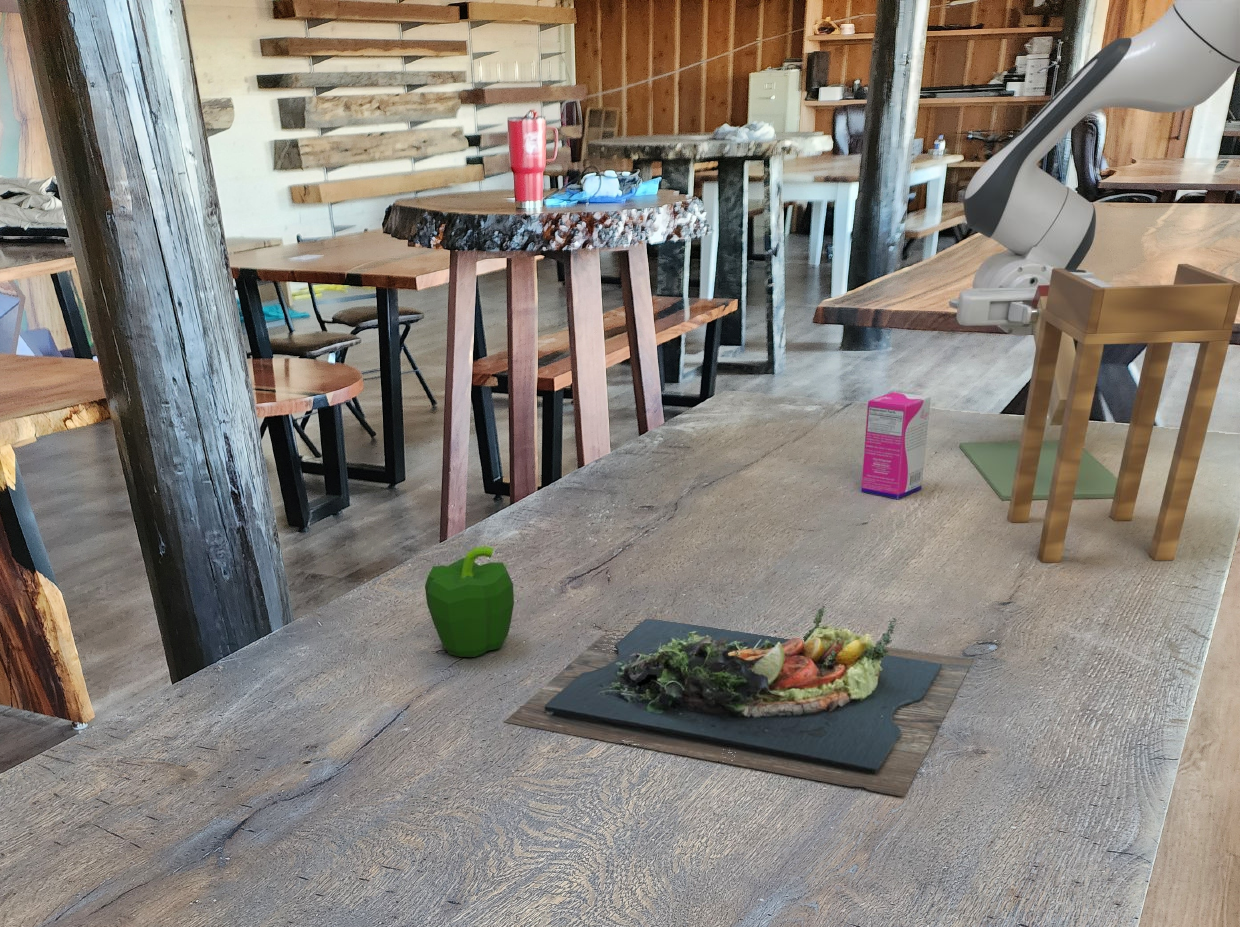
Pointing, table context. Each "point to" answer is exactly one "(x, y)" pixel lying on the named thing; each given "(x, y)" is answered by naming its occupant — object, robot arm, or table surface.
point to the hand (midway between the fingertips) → (1050, 315)
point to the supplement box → (895, 444)
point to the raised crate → (1128, 317)
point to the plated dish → (758, 700)
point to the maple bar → (1063, 362)
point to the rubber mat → (1001, 463)
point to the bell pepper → (470, 604)
